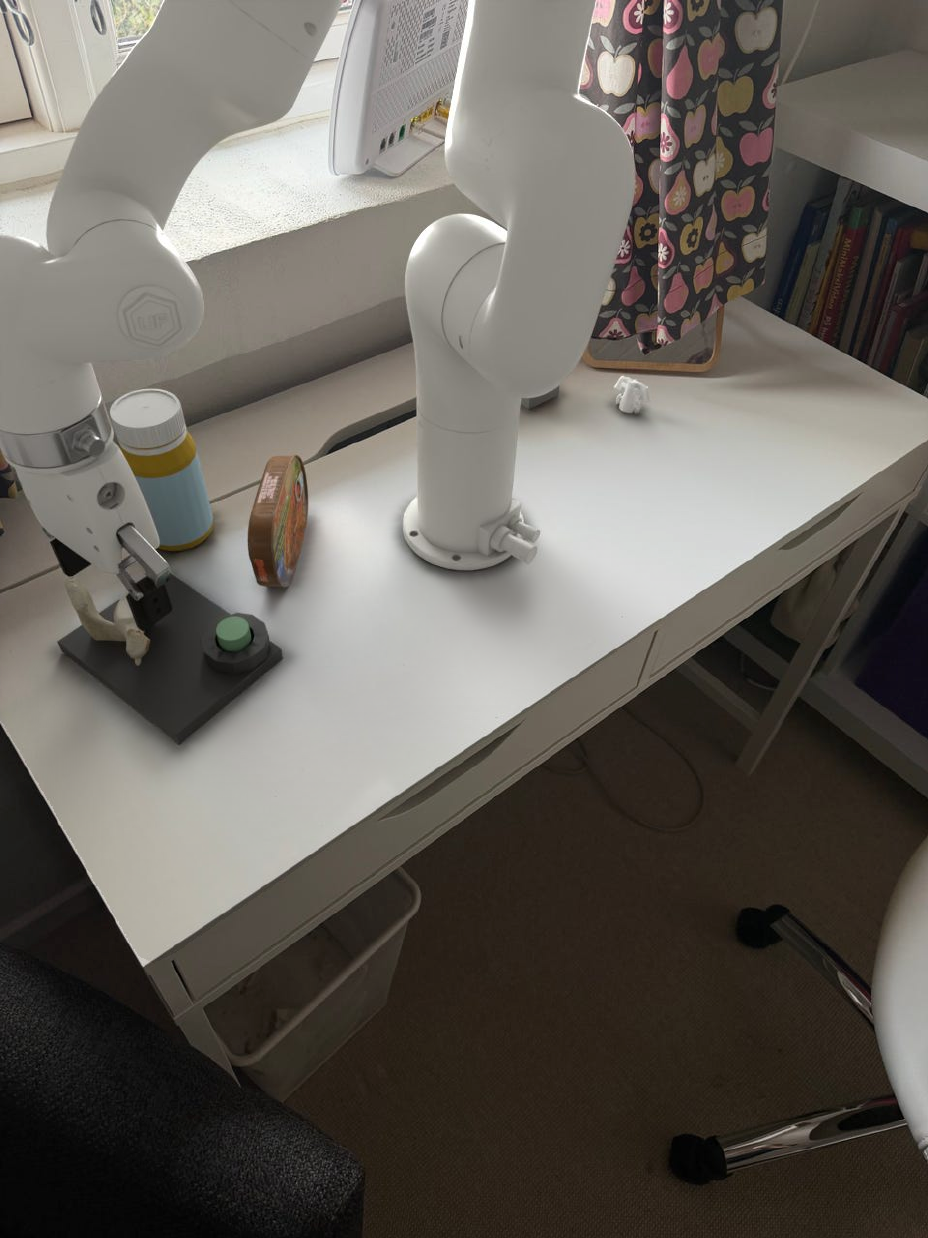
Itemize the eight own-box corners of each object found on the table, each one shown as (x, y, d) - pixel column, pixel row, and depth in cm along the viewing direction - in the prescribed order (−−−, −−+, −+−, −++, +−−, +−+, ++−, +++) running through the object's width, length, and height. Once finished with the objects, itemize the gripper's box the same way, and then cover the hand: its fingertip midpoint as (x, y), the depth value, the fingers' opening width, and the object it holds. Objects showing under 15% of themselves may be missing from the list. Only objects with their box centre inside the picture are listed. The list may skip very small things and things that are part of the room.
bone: (204, 625, 78) (126, 586, 69) (163, 686, 77) (79, 655, 69) (147, 583, 82) (66, 541, 73) (107, 641, 81) (21, 606, 73)
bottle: (198, 559, 88) (165, 435, 77) (133, 548, 88) (90, 424, 77) (225, 514, 92) (197, 391, 81) (162, 504, 93) (126, 381, 82)
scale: (286, 656, 80) (282, 634, 78) (179, 745, 73) (171, 724, 71) (169, 576, 86) (163, 554, 84) (61, 651, 79) (50, 629, 77)
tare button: (258, 638, 78) (255, 626, 77) (234, 657, 76) (231, 645, 75) (236, 623, 79) (233, 611, 78) (212, 641, 77) (209, 630, 76)
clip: (648, 413, 107) (654, 386, 104) (640, 419, 106) (646, 392, 103) (614, 397, 109) (619, 370, 106) (605, 403, 108) (610, 376, 105)
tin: (286, 606, 84) (274, 541, 78) (253, 604, 84) (239, 539, 78) (312, 502, 94) (304, 437, 88) (283, 501, 94) (272, 436, 88)
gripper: (176, 447, 60) (221, 615, 73) (26, 358, 67) (91, 525, 80) (84, 503, 56) (149, 670, 69) (-66, 402, 63) (18, 571, 76)
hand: (118, 592), depth 74 cm, fingers open, 9 cm apart
